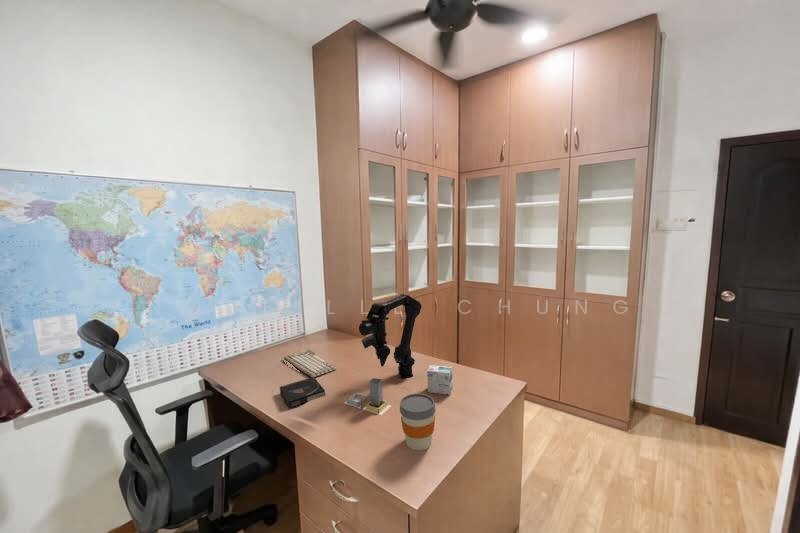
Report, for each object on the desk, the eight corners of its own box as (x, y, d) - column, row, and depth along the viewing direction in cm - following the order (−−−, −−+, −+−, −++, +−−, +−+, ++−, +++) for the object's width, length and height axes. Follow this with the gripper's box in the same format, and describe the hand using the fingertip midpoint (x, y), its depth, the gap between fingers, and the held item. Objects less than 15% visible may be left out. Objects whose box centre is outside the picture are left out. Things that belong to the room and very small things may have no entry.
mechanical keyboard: (341, 369, 178) (341, 363, 178) (310, 382, 166) (310, 375, 165) (309, 352, 206) (308, 347, 205) (280, 362, 193) (279, 357, 192)
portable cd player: (289, 411, 139) (288, 402, 139) (280, 394, 154) (279, 386, 153) (325, 398, 148) (325, 390, 147) (314, 384, 162) (313, 376, 162)
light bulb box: (453, 388, 151) (452, 366, 150) (450, 395, 145) (449, 372, 143) (431, 385, 154) (430, 364, 153) (427, 392, 148) (426, 370, 147)
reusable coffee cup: (406, 428, 122) (405, 391, 121) (439, 433, 119) (438, 395, 117) (397, 450, 110) (394, 410, 109) (433, 456, 107) (431, 414, 105)
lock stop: (383, 405, 137) (381, 379, 136) (379, 410, 133) (378, 383, 132) (374, 404, 138) (372, 378, 137) (370, 409, 134) (369, 382, 133)
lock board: (392, 407, 137) (391, 396, 136) (381, 417, 130) (380, 405, 130) (355, 396, 147) (354, 386, 147) (343, 405, 141) (343, 394, 140)
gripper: (360, 326, 158) (361, 357, 159) (364, 338, 140) (366, 372, 141) (382, 324, 160) (383, 354, 162) (390, 335, 142) (391, 369, 144)
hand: (380, 362), depth 152 cm, fingers open, 9 cm apart
